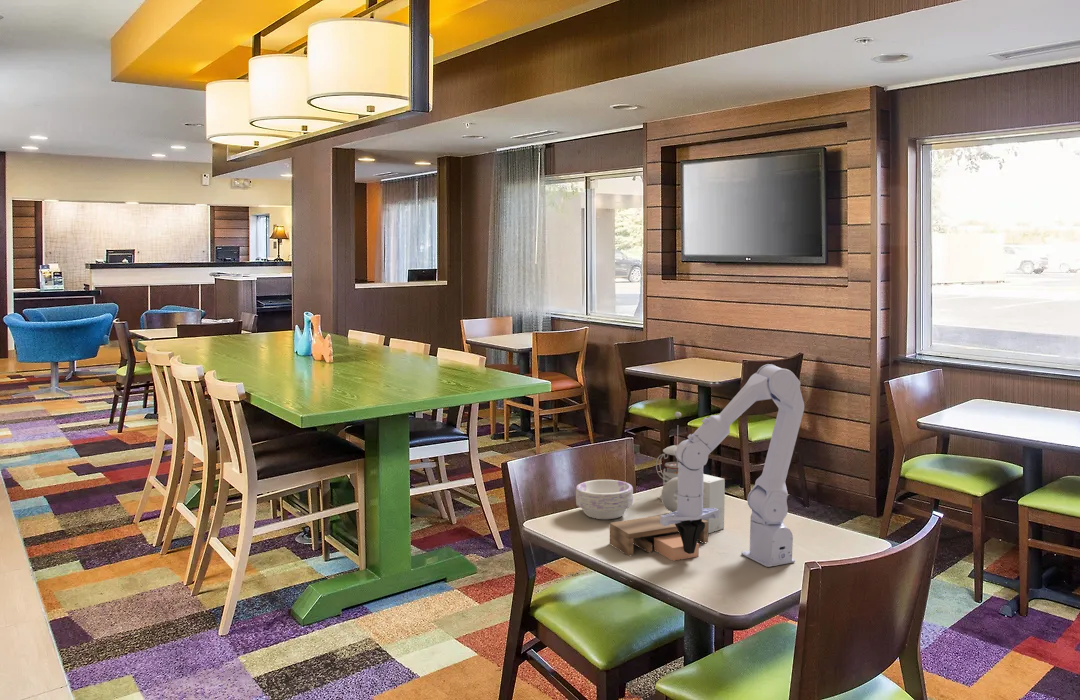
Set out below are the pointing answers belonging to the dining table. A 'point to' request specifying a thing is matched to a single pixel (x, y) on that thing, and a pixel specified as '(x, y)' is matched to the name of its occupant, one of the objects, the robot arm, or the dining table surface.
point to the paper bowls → (604, 498)
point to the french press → (670, 463)
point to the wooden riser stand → (643, 533)
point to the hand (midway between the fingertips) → (689, 552)
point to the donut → (670, 494)
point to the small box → (714, 500)
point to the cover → (673, 547)
